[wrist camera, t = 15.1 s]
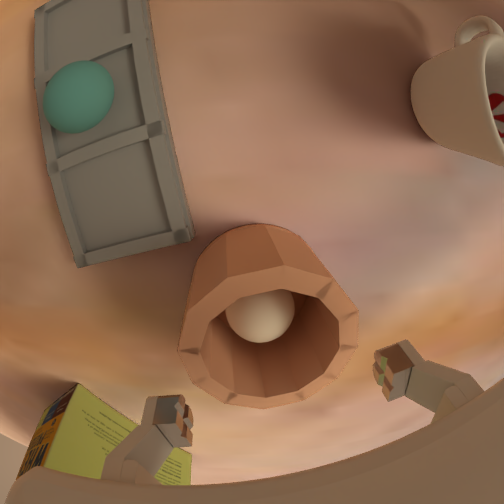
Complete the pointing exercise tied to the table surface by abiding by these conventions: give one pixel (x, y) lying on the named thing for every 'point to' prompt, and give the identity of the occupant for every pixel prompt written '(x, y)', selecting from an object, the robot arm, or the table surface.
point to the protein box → (90, 439)
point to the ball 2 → (261, 315)
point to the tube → (280, 349)
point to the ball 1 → (78, 97)
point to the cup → (465, 92)
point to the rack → (111, 134)
